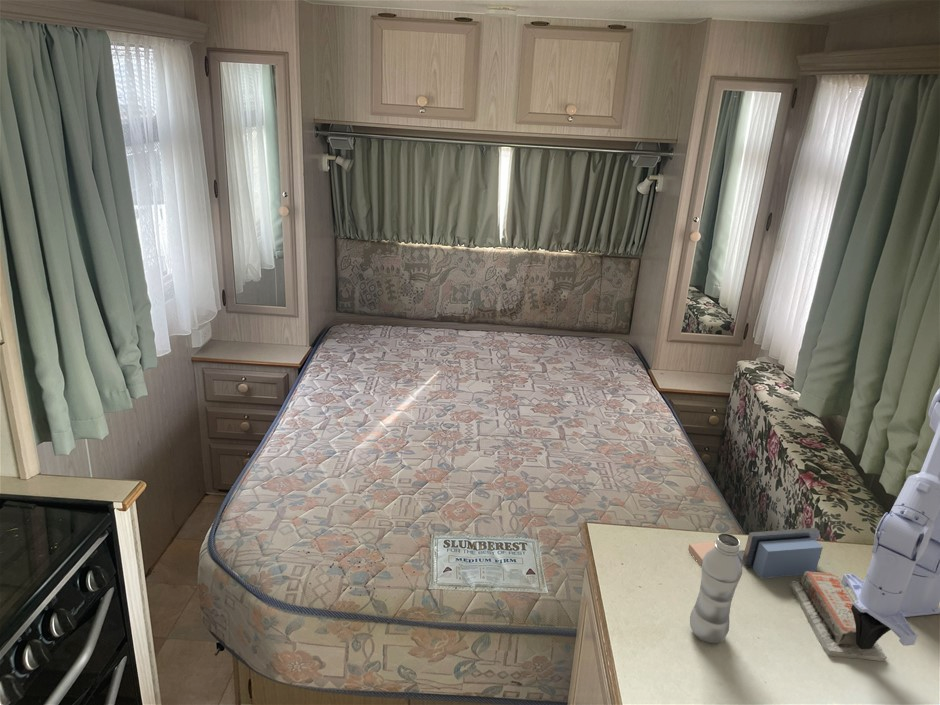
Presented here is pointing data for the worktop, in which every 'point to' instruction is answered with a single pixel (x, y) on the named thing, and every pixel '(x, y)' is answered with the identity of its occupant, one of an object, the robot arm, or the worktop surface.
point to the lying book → (700, 550)
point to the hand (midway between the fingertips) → (863, 646)
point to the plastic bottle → (717, 589)
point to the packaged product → (832, 615)
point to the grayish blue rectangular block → (787, 557)
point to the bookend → (755, 537)
